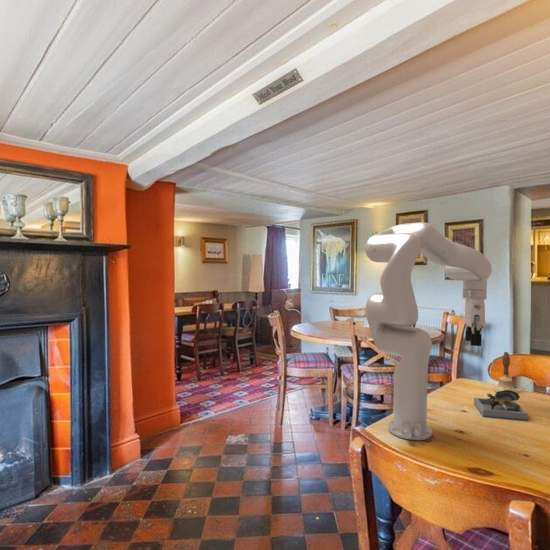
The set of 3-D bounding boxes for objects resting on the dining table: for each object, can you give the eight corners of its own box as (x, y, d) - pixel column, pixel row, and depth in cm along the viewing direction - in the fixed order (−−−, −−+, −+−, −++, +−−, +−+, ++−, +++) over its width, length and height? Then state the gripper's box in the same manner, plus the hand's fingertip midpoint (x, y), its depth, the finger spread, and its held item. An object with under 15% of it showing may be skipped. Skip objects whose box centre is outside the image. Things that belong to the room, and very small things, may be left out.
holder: (527, 421, 123) (527, 413, 123) (483, 416, 126) (483, 409, 126) (514, 407, 135) (514, 400, 134) (474, 404, 138) (474, 397, 138)
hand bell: (521, 396, 146) (522, 355, 146) (498, 394, 148) (498, 354, 148) (512, 389, 155) (513, 350, 154) (490, 388, 156) (491, 349, 156)
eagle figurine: (497, 412, 126) (524, 402, 124) (485, 391, 130) (511, 382, 128) (494, 416, 132) (520, 407, 130) (482, 396, 136) (507, 387, 135)
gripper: (492, 296, 125) (491, 348, 125) (480, 294, 142) (479, 340, 142) (467, 295, 127) (465, 346, 127) (458, 293, 144) (457, 338, 144)
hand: (472, 343), depth 135 cm, fingers open, 9 cm apart
